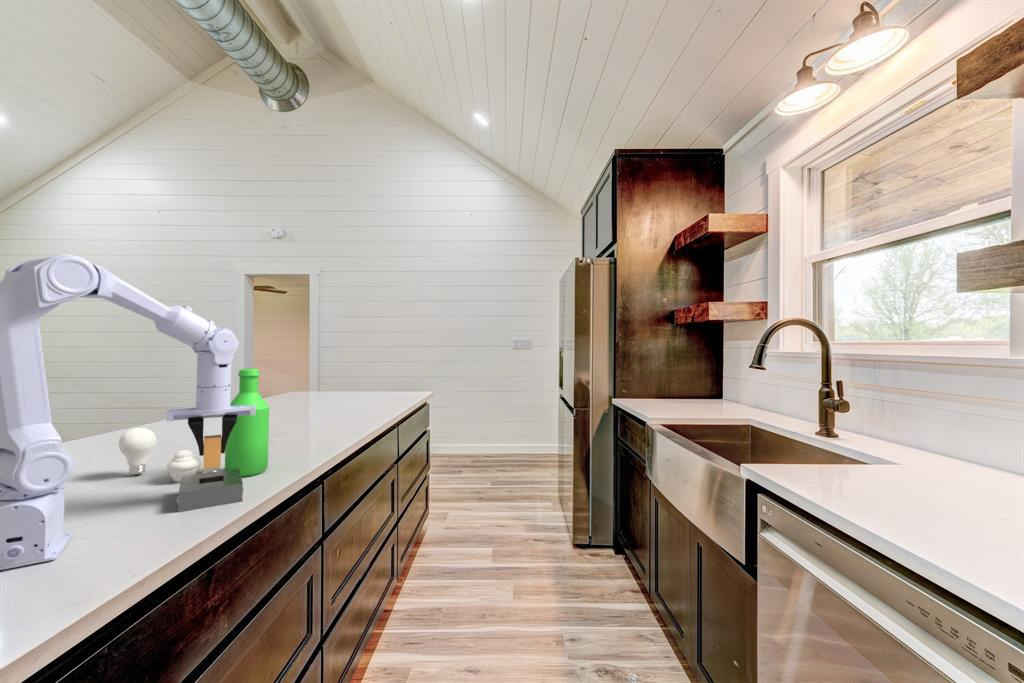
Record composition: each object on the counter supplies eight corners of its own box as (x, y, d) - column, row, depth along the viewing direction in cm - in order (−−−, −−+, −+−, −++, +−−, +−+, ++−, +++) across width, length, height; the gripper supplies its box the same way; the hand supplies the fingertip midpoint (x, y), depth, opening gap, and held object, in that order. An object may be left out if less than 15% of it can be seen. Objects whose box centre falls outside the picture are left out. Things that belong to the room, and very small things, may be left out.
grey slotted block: (245, 500, 84) (245, 482, 84) (174, 512, 77) (174, 492, 77) (240, 478, 97) (240, 462, 97) (179, 486, 91) (180, 469, 91)
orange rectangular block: (220, 463, 87) (220, 434, 87) (220, 466, 85) (221, 437, 85) (203, 465, 86) (204, 436, 86) (203, 469, 83) (204, 438, 83)
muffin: (180, 485, 92) (181, 453, 92) (159, 482, 93) (159, 451, 93) (207, 477, 98) (208, 447, 98) (187, 474, 99) (188, 445, 99)
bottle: (216, 474, 100) (219, 368, 100) (253, 465, 107) (256, 367, 108) (238, 480, 96) (241, 370, 96) (275, 470, 103) (277, 369, 104)
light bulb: (124, 472, 100) (125, 426, 100) (159, 469, 103) (161, 424, 103) (112, 481, 94) (113, 431, 94) (150, 477, 97) (151, 429, 97)
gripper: (254, 383, 93) (252, 445, 93) (169, 386, 85) (167, 453, 84) (256, 386, 87) (255, 451, 87) (166, 389, 79) (164, 462, 79)
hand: (212, 453), depth 85 cm, fingers closed on orange rectangular block, 3 cm apart
